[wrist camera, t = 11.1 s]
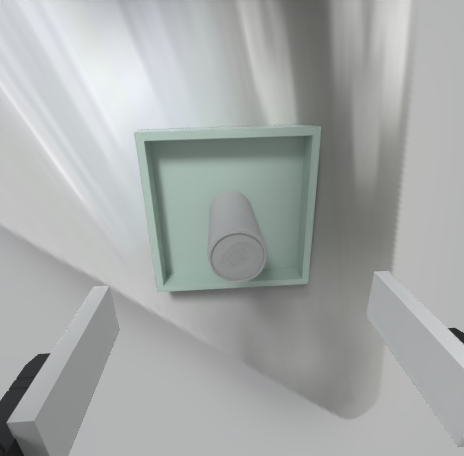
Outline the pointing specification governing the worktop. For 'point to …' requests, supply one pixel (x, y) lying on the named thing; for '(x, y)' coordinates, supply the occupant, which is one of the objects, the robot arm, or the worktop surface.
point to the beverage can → (234, 238)
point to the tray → (223, 179)
